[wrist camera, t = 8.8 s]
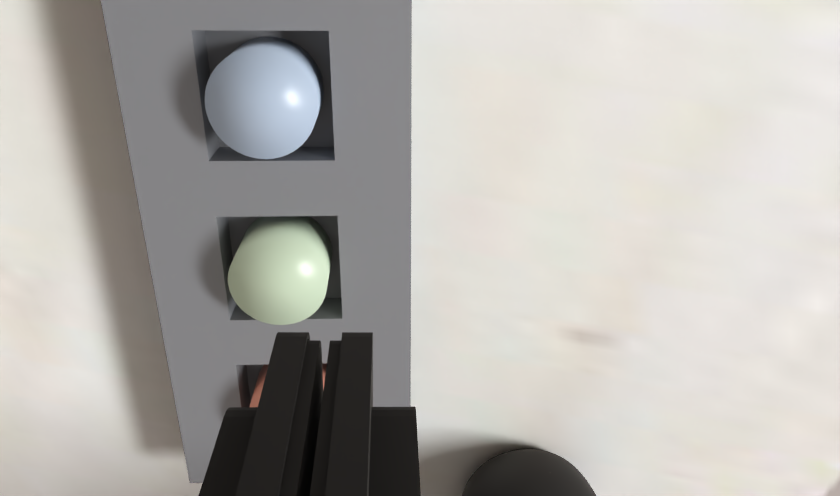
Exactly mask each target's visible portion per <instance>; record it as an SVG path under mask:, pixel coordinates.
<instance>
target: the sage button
mask: <svg viewBox="0 0 840 496" xmlns="http://www.w3.org/2000/svg"><path fill="white" fill-rule="evenodd" d="M331 261H332V246H331V242H330V239H329V237H328V235H327V233H326V232H325V230H324V229H323V228H322V227H321V226H320V225H319V224H318V223H317V222H316V221H315V220H313V219H312V218H310V217H308V216H265V217H259V218H258V219H256V220H255V221H254V222H253V223H252V224H251V225H250V226H249V227H248V229H247V231H246V232H245V235H244V237H243V239H242V241H241V243H240V246H239V248H238V250H237V252H236V254H235V256H234V259H233V261H232V263H231V265H230V268H229V272H228V286H229V290H230V293H231V295H232V297H233V299H234V301H235V302H236V304H237V305H238V306H239V307H240V308H241V310H243V311H244V312H245V313H246V314H248V315H249V316H251V317H252V318H254V319H256V320H258V321H261V322H264V323H268V324H273V325H289V324H294V323H297V322H300V321H302V320H305V319H306V318H308V317H310V316H311V315H312V314H314V313H315V312H316V311H317V310H318V309H319V307H320V306H321V304H322V303H323V301H324V298H325V295H326V291H327V285H328V279H329V273H330V267H331Z"/></svg>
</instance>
